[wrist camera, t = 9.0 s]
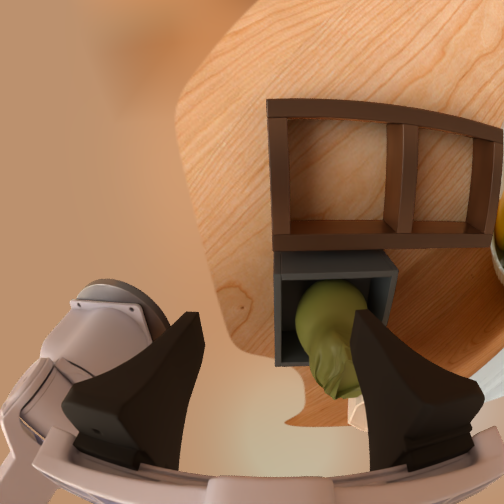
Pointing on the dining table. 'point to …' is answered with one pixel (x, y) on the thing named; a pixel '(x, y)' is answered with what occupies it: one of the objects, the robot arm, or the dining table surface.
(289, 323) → the tub
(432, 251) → the dining table surface
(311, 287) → the olive cloth sack
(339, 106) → the rack
